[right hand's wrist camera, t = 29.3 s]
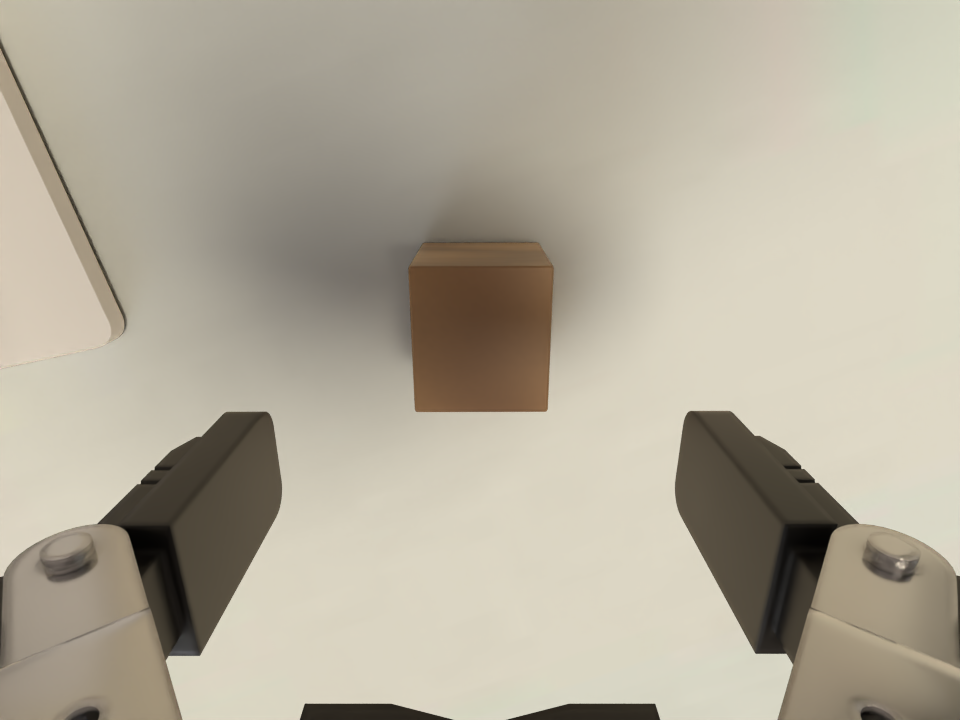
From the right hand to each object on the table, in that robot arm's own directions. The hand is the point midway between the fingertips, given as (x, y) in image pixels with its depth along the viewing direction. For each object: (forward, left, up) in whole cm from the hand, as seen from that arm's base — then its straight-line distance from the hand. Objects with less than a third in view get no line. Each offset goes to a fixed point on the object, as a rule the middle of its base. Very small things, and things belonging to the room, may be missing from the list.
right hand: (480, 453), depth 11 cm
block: (0, 0, -11) cm, 11 cm away
